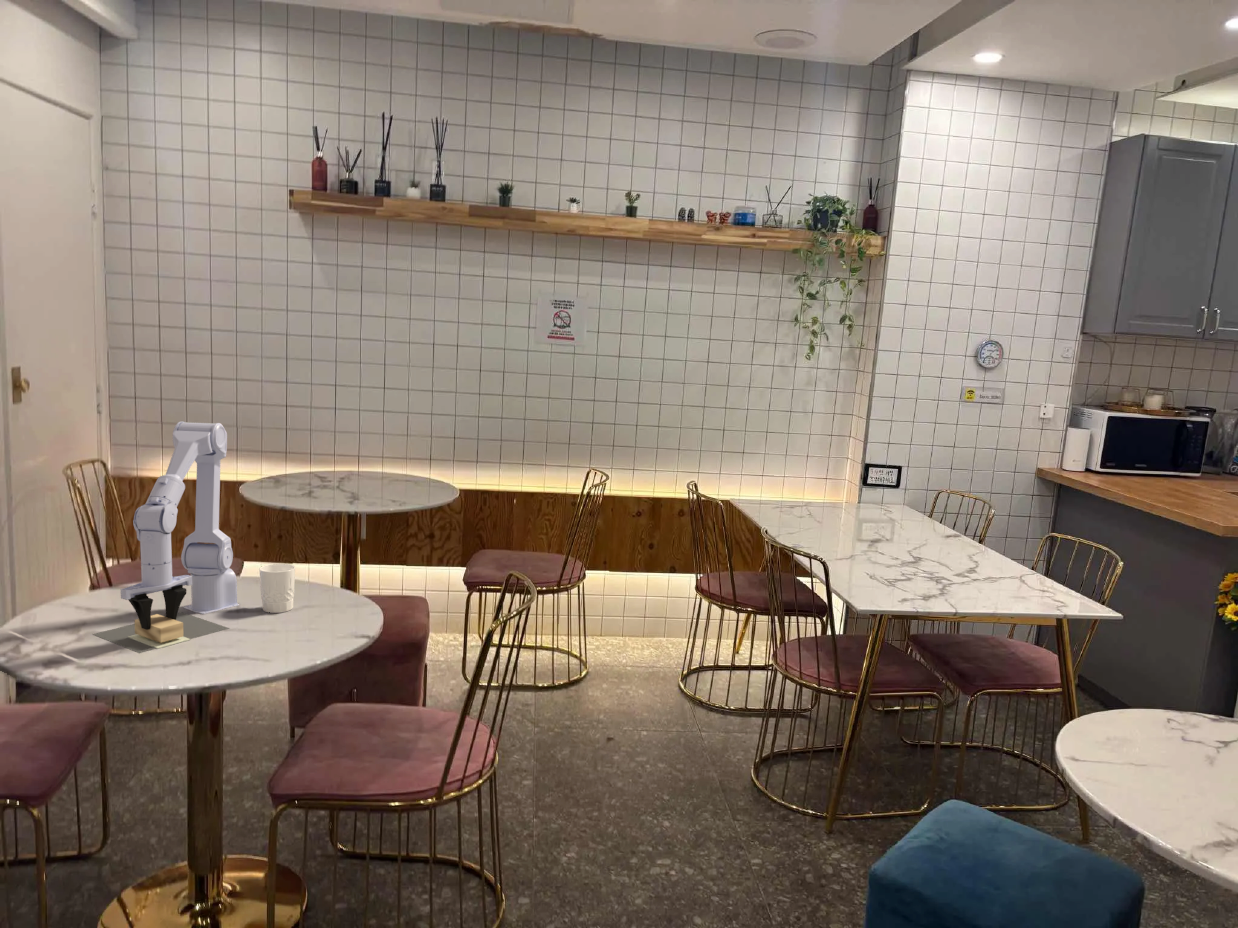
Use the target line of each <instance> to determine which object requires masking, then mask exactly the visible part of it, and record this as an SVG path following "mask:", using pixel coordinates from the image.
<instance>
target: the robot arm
mask: <svg viewBox="0 0 1238 928" xmlns="http://www.w3.org/2000/svg"><path fill="white" fill-rule="evenodd" d="M172 444H173V447H174V449H173V452H172V455H171V458H170V462H169V464H168V466H167V469H166V471H165V474H164V475H160V476H159V477H158V478H157V479H156V481H155V483H154V485H153V487H152V489H151V491H150V494H149V496H148V497H147V500H146V502H145V504H142V505H141V506H139V507H138V508H136V510H135V511H134V516H133V520H132V522H133V524H132V525H133V527H134V528H133V529H134V530H135V533H136V539H137V541H139V543H140V568H141V569H140V570H141V572H140V573H141V582H139V583H136V584H133V585H131V586H127V587H124V588H120V599H121V600H125V601H128V602H129V603H130V605H131V606H132V607H133V609H134V610H135V613H136V615H137V617H138V618H137V619H139V621H140V624H141V628H143V629H146V630H149V629H150V627H151V614H152V606H153V602H154V599H153V598H151V597H149V594H154V593H159V592H162V595H163V599H164V604H165V605H164V606H165V616H166V617H168V618H171V619H174V620H176V617H177V613H179V610H180V607H181V603H182V602H183V600H184V598H185V596H186V595H187V588H185V587H186V586H190V592H191V604H189V605H185V606H183V609H185V610H189V611H191V612H194V613H197V614H200V615H207V614H211V613H215V612H218V611H223V610H227V609H231V608H235V607H239V606H240V603H238V581H237V576H236V573H235V572H234V570H233V569H232V568H230V567H231V566H232V564H233V559H234V558H233V557H234V552H233V548H232V541H231V539H232V538H231V537H230V536H228V535H227V534H225V532H223V531H222V530H220V524H219V523H220V500H221V499H220V496H221V495H220V494H221V491H220V490H221V462H222V461H221V460H223V459H225V458H226V457H227V450H228V432H227V431H226V429H225V427H224V426H223V424H222V423H220V422H215V423H214V422H213V423H209V422H186V421H178V422H177V423H176V424H175V425H174V428H173V431H172ZM194 462H195V463H196V480H195V481H196V487H195V488H196V489H195V518H194V519H195V521H194V523H195V524H194V525H195V527H194V531H193V532H192V533H190V534H189V535H187V536H186V537H185V538H184V541H183V548H182V551H181V556H180V559H181V560H180V561H181V564H182V566H183V567H184V569H185V570H187V574H183V575H178V576H173V558H172V557H173V555H172V554H173V553H172V552H173V551H172V549H173V548H172V532H173V531H174V529H175V527H176V525H177V520H178V519H177V518H178V517H177V516H178V512H179V509H178V508H177V507H178V506H179V504H180V501H181V499H182V496H183V494H184V492H185V489H186V484H185V482H183V481H184V479H185V478H186V476H187V474H188V472H189V471H190V468H191V467H192V466H193V464H194ZM189 574H190V575H189ZM184 586H185V587H184Z"/></svg>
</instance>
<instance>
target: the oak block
mask: <svg viewBox="0 0 1238 928" xmlns="http://www.w3.org/2000/svg"><path fill="white" fill-rule="evenodd" d="M165 616H166V615H165ZM165 616H164V615H161V614H158V613H156V614H155V613H154V614H152V615H151V627H150V629H149V630H146V629H143V628H141V624H140V621H139V618H137V619H134V624H135V634H138V635H140V636H143V637H146V638H149V639H152V640H155V641H157V642H160V643H162V642H165V641H169V640H172V639H176V638H179V637H183V622H180V621H177V620H174V619H171V618H168V617H165Z"/></svg>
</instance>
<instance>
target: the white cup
mask: <svg viewBox="0 0 1238 928" xmlns="http://www.w3.org/2000/svg"><path fill="white" fill-rule="evenodd" d="M258 570H259V584H260V596H261V604H262V610H263V612H266V613H269V612H270V614H279V613H280V614H281V613H286V612H289V611H292V609H294V598H295V583H296V582H295V581H296V566H295V565H293V564H291V563H271V564H266V565H263V566H261V567H259V569H258Z"/></svg>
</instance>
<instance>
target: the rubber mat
mask: <svg viewBox="0 0 1238 928" xmlns="http://www.w3.org/2000/svg"><path fill="white" fill-rule="evenodd" d="M165 617H166V615H165ZM176 620H177V621H180V622H183V637H179V638H176V639H172V640H169V641H165V642H162V643H160V642H157V641H155V640H152V639H149V638H146V637H143V636H140V635H138V634H135V623H133V624H129V625H124V626H121V627H117V628H116V627H115V628H111V629H109V630H108V629H107V630H103V631H100V632H96V633H92V635H93V636H95V637H98V638H100V639H103V640H105V641H108V642H110V643H112V644H115V645H118V646H120V647H123V648H125V649H128V650H130V651H133V652H136V653H138V654H142V653H146V652H149V651H152V650H157V649H162V648H165V647H169V646H174V645H177V644H181V643H184V642H188V641H190V640H192V639H193V640H194V639H196V638H200V637H203V636H207V635H210V634H215V633H218V632H219V633H220V632H223V631H226V630H230V627H227V626H225V625H221V624H218V623H215V622H212V621H210V620H207V619H203V618H202V617H201V618H200V617H197V616H195V615H192V614H188V613H186V612H178V613H177V617H176Z"/></svg>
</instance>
